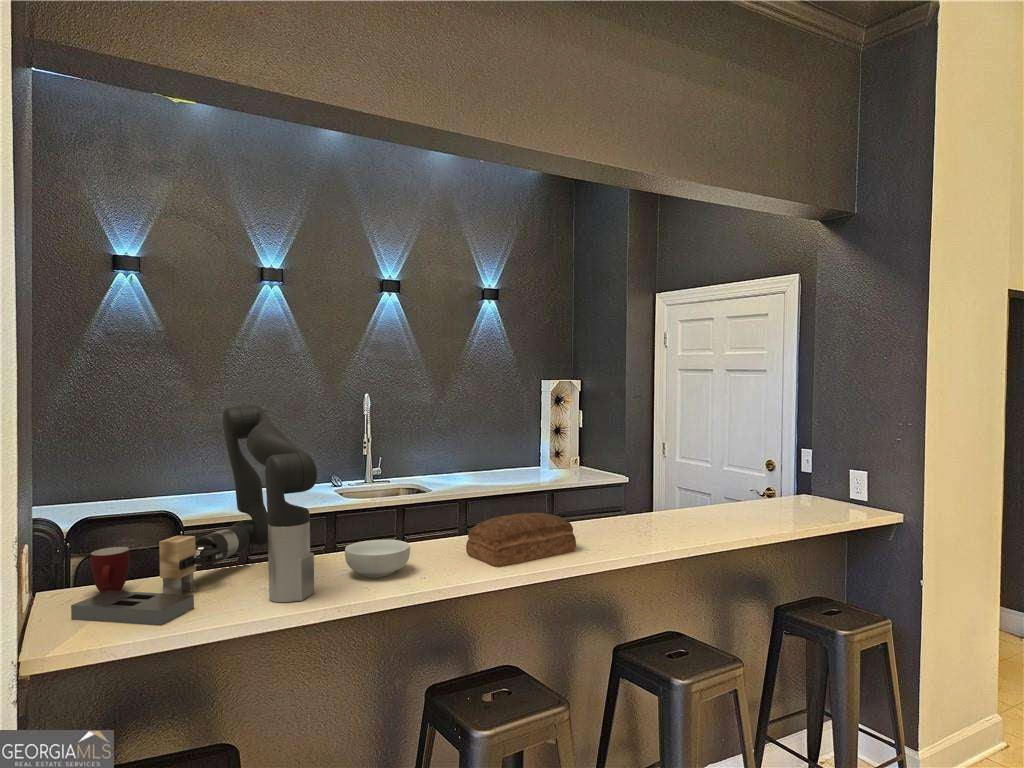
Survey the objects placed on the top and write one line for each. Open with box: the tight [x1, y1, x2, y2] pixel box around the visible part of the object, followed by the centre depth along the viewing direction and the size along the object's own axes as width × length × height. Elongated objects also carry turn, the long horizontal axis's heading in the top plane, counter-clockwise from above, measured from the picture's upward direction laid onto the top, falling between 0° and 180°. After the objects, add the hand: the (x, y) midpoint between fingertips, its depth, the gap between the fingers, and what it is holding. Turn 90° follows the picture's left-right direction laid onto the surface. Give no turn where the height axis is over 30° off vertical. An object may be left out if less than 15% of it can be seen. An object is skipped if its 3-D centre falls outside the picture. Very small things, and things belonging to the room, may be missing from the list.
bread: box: [465, 512, 577, 568], centre depth 189 cm, size 17×29×11 cm, turn 125°
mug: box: [89, 546, 131, 594], centre depth 157 cm, size 10×8×10 cm
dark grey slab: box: [70, 590, 195, 626], centre depth 143 cm, size 22×10×3 cm, turn 79°
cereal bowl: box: [344, 539, 411, 578], centre depth 172 cm, size 17×17×7 cm
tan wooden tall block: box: [158, 535, 197, 595], centre depth 157 cm, size 5×6×13 cm
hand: (170, 564), depth 154 cm, fingers closed on tan wooden tall block, 5 cm apart
